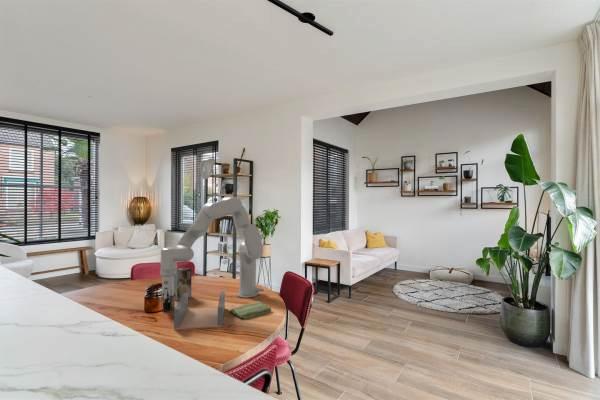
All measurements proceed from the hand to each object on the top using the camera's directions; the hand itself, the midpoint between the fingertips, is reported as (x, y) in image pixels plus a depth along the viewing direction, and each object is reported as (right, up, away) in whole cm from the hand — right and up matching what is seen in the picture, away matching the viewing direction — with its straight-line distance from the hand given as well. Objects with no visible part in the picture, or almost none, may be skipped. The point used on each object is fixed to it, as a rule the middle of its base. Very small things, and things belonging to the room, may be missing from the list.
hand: (168, 307), depth 156 cm
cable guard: (+21, -1, -11) cm, 24 cm away
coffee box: (0, -1, +18) cm, 18 cm away
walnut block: (0, -1, 0) cm, 1 cm away
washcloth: (+42, -2, -3) cm, 43 cm away
